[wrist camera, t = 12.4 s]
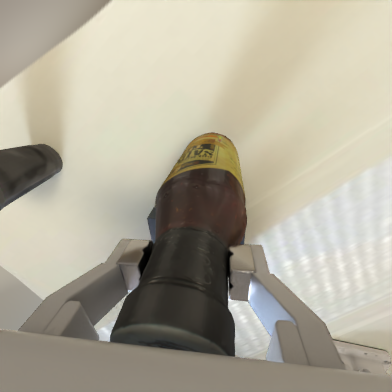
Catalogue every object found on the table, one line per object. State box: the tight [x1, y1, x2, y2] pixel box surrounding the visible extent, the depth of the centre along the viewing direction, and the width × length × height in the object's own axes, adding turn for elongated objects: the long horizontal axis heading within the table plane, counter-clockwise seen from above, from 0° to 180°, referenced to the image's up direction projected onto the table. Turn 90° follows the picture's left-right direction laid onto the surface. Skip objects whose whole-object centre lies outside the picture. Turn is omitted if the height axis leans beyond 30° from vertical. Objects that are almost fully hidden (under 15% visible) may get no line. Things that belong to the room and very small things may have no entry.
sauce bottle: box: [110, 133, 247, 357], centre depth 14 cm, size 6×6×20 cm
